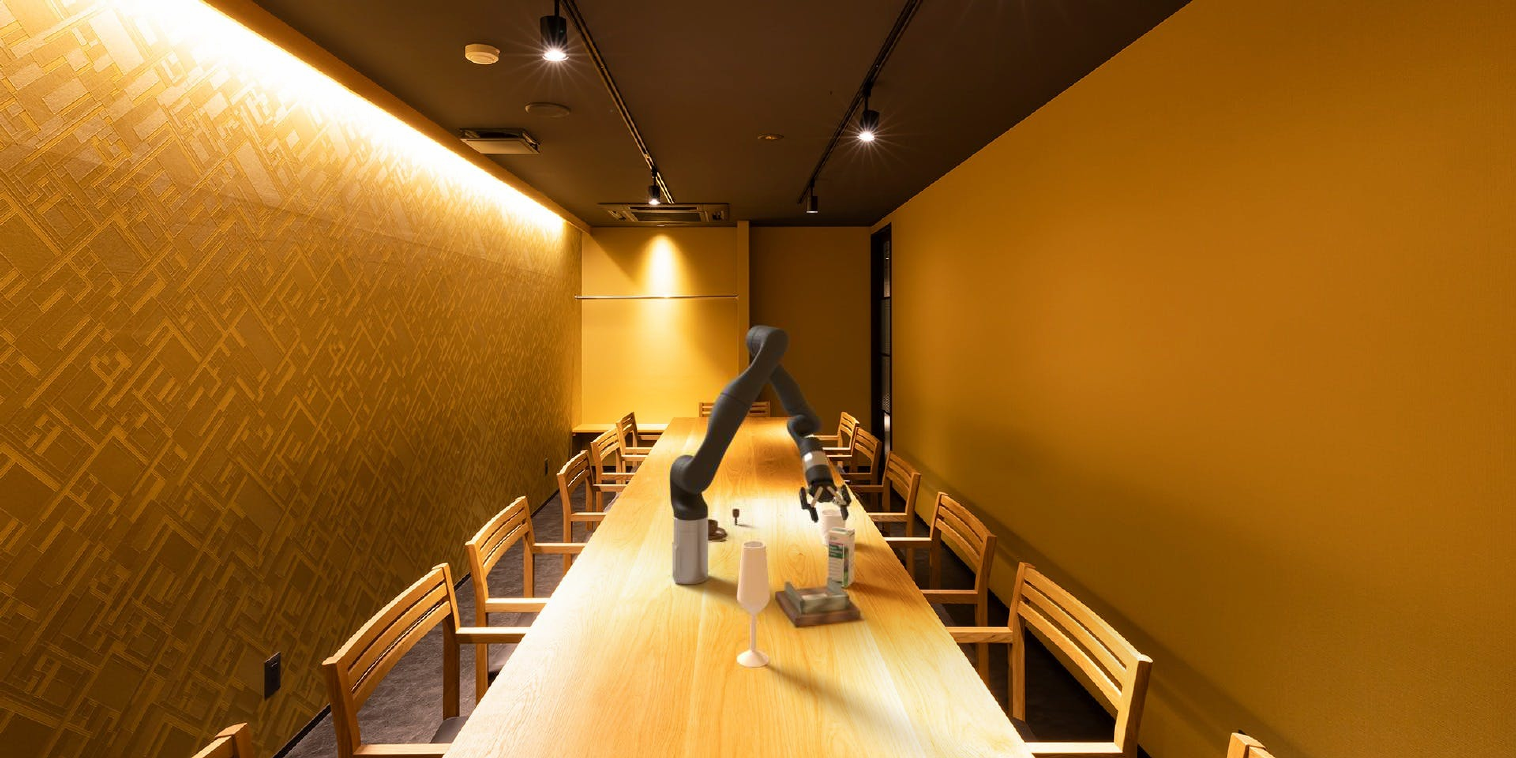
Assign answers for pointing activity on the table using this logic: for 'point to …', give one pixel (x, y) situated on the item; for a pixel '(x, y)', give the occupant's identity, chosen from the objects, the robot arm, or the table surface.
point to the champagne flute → (753, 595)
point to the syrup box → (841, 555)
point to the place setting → (714, 527)
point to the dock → (817, 604)
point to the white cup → (830, 522)
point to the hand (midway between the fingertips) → (831, 520)
